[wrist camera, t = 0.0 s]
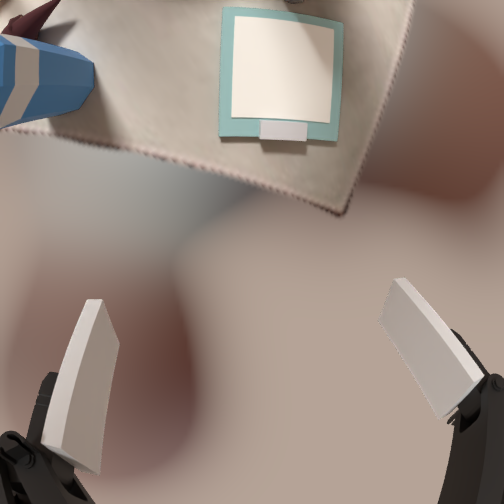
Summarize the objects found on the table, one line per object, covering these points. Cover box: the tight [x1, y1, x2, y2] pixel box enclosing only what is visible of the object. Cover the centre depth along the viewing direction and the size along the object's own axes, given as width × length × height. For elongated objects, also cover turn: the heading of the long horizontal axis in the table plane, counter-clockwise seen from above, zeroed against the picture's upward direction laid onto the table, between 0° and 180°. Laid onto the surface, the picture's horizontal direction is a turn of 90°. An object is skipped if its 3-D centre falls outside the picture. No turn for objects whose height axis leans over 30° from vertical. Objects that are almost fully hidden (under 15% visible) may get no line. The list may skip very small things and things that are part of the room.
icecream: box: [1, 0, 61, 41], centre depth 16 cm, size 7×7×15 cm
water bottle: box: [0, 34, 94, 129], centre depth 15 cm, size 9×9×25 cm
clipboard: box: [219, 7, 343, 141], centre depth 29 cm, size 18×16×2 cm
